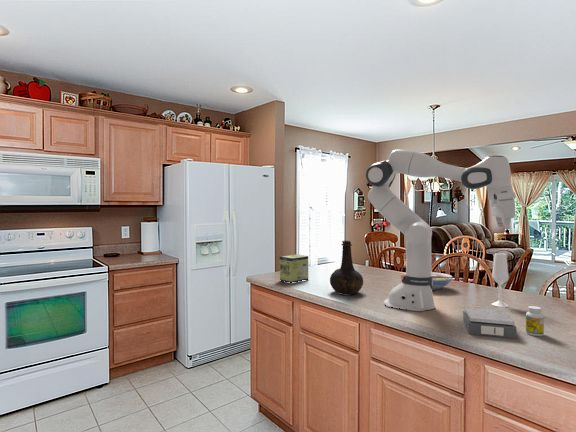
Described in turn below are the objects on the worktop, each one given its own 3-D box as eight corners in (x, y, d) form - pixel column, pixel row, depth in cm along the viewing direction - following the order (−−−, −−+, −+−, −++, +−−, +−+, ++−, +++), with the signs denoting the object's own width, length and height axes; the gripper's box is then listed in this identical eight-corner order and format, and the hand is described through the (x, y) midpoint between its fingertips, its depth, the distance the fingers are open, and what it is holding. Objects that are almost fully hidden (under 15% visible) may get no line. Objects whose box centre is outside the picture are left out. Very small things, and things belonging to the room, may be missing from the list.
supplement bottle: (547, 335, 128) (547, 308, 128) (537, 337, 126) (538, 310, 126) (531, 330, 133) (531, 304, 133) (522, 332, 131) (522, 306, 130)
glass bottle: (347, 287, 204) (347, 238, 203) (370, 293, 189) (370, 241, 188) (322, 291, 194) (322, 240, 193) (345, 298, 179) (345, 243, 178)
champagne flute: (511, 306, 164) (512, 254, 164) (498, 307, 163) (499, 254, 163) (500, 302, 171) (501, 252, 170) (488, 303, 170) (488, 252, 169)
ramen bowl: (446, 284, 211) (446, 270, 211) (461, 293, 189) (461, 278, 188) (403, 283, 214) (403, 270, 214) (412, 292, 191) (412, 277, 191)
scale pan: (470, 321, 130) (470, 317, 130) (464, 310, 143) (464, 307, 143) (514, 325, 125) (514, 321, 125) (504, 313, 138) (504, 310, 138)
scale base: (468, 334, 129) (468, 323, 129) (462, 321, 144) (463, 311, 144) (516, 339, 124) (516, 327, 124) (505, 325, 139) (505, 314, 139)
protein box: (279, 281, 221) (279, 256, 220) (297, 278, 231) (297, 254, 231) (290, 284, 213) (290, 258, 213) (308, 280, 224) (308, 255, 223)
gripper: (485, 194, 158) (488, 225, 158) (498, 196, 138) (502, 231, 139) (501, 193, 156) (504, 224, 157) (517, 194, 136) (520, 229, 137)
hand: (503, 227), depth 148 cm, fingers open, 8 cm apart
